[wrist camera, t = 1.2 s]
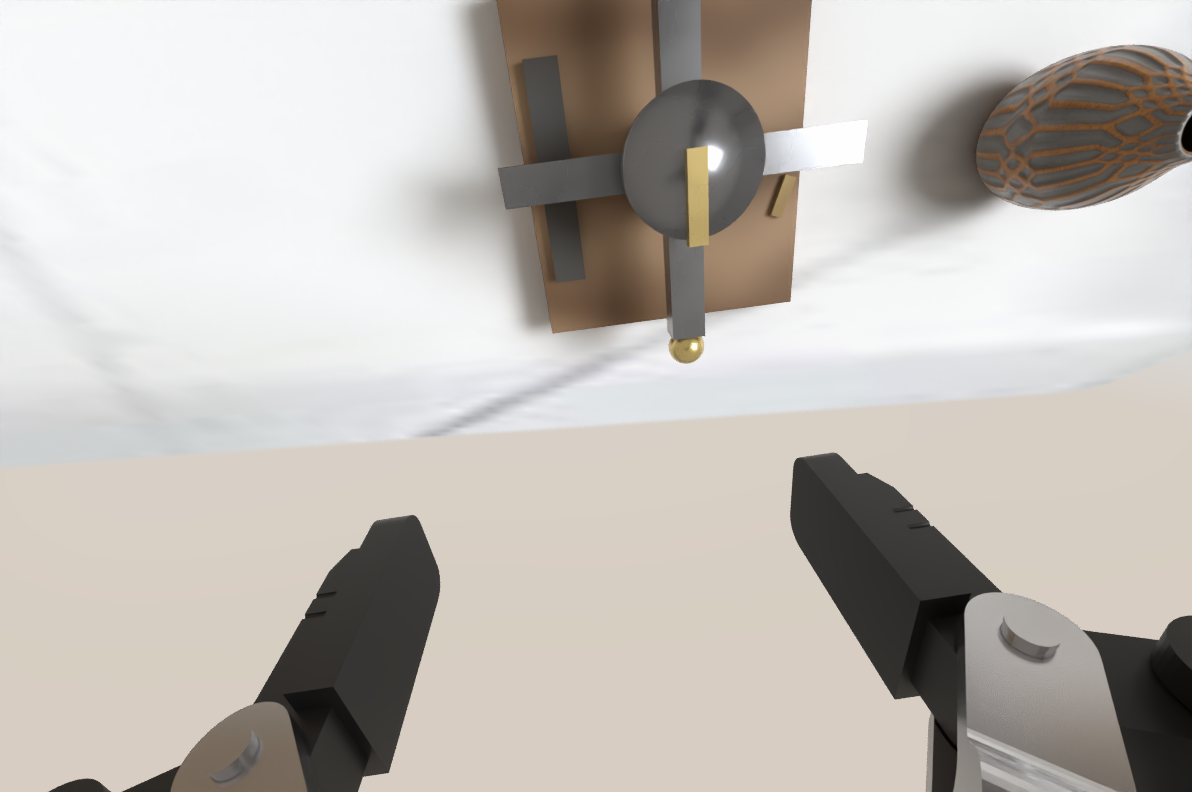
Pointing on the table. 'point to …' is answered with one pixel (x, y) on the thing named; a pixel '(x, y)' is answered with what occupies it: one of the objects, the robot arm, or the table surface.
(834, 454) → the robot arm
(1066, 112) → the vase
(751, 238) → the stand
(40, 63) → the table surface
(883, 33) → the table surface
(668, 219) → the capstan
